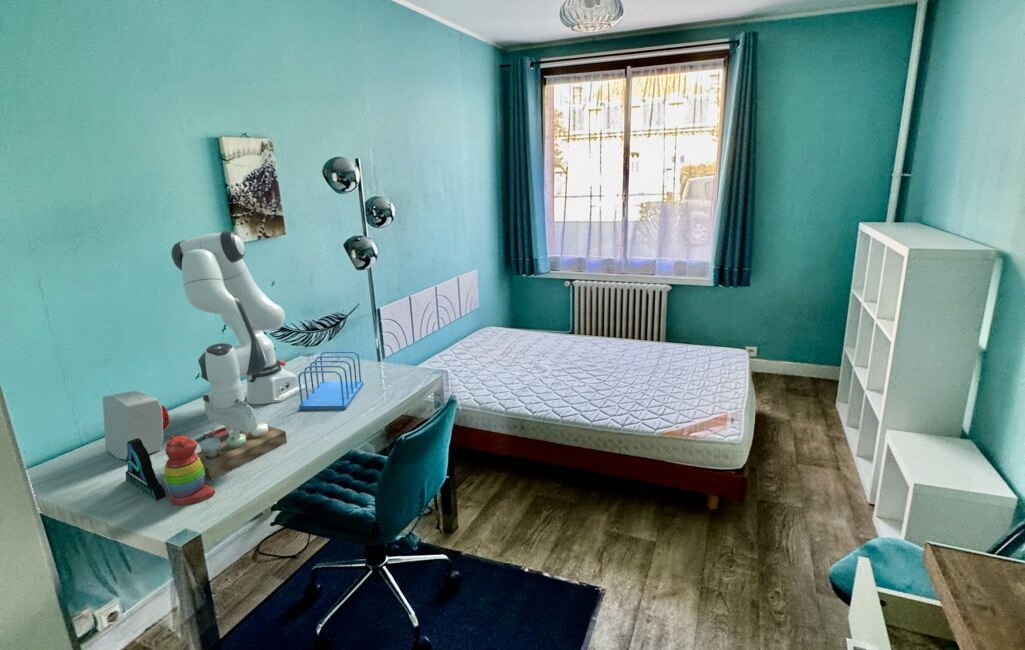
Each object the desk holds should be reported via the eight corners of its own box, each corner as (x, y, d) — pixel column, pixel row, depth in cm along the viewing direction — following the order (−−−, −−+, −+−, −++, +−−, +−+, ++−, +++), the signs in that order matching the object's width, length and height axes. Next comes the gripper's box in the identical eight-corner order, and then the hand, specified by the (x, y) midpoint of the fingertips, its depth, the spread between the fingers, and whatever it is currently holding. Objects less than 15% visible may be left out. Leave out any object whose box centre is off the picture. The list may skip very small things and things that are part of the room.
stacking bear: (217, 494, 148) (206, 436, 143) (177, 511, 141) (163, 450, 136) (203, 480, 155) (192, 424, 150) (163, 496, 148) (150, 437, 143)
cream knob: (263, 436, 178) (260, 422, 177) (273, 439, 175) (271, 425, 174) (249, 443, 174) (246, 428, 172) (259, 446, 171) (256, 432, 170)
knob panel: (263, 434, 182) (261, 423, 181) (286, 442, 176) (285, 431, 175) (186, 470, 160) (184, 458, 159) (210, 480, 154) (208, 468, 153)
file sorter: (345, 410, 200) (341, 371, 196) (299, 411, 200) (294, 372, 196) (363, 384, 224) (360, 350, 220) (322, 385, 224) (318, 350, 220)
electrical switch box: (179, 449, 177) (177, 391, 174) (129, 464, 164) (125, 401, 162) (155, 439, 184) (153, 383, 182) (105, 452, 172) (102, 392, 169)
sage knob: (241, 447, 171) (238, 432, 170) (251, 451, 169) (248, 436, 167) (225, 454, 167) (223, 439, 166) (236, 458, 164) (233, 443, 163)
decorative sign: (126, 480, 156) (114, 434, 152) (135, 476, 158) (124, 430, 154) (157, 501, 145) (145, 451, 141) (166, 496, 147) (155, 447, 143)
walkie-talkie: (238, 425, 190) (179, 449, 174) (236, 413, 189) (177, 437, 172) (252, 430, 185) (194, 456, 169) (250, 419, 184) (191, 444, 168)
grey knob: (215, 451, 164) (213, 436, 163) (226, 455, 161) (223, 439, 160) (199, 459, 160) (196, 443, 158) (209, 463, 157) (206, 447, 156)
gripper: (259, 399, 160) (265, 441, 164) (217, 387, 170) (224, 427, 174) (239, 407, 155) (246, 450, 159) (198, 394, 165) (205, 435, 168)
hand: (234, 438), depth 166 cm, fingers closed, pressing on sage knob
